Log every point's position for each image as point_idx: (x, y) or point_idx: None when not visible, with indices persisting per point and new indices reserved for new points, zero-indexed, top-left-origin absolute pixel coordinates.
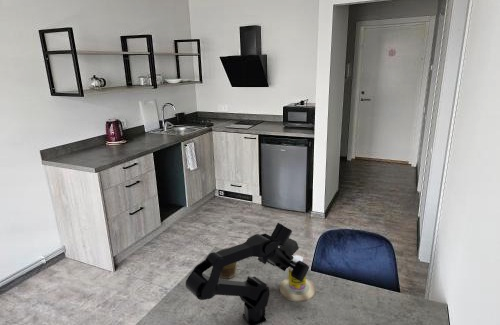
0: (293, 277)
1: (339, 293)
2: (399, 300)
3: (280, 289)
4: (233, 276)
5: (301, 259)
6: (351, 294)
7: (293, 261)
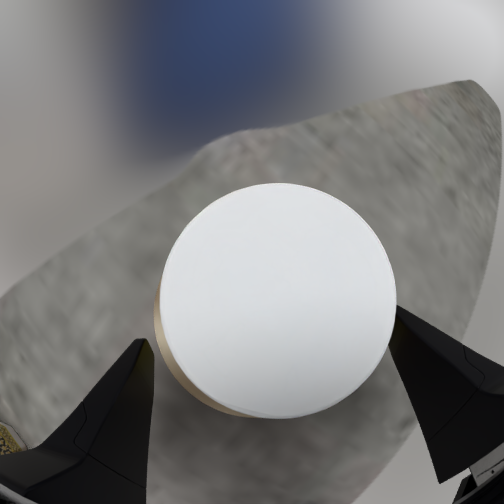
0: (458, 496)
1: (382, 172)
2: (451, 97)
3: (212, 406)
4: (26, 448)
5: (358, 254)
6: (402, 147)
7: (304, 414)
